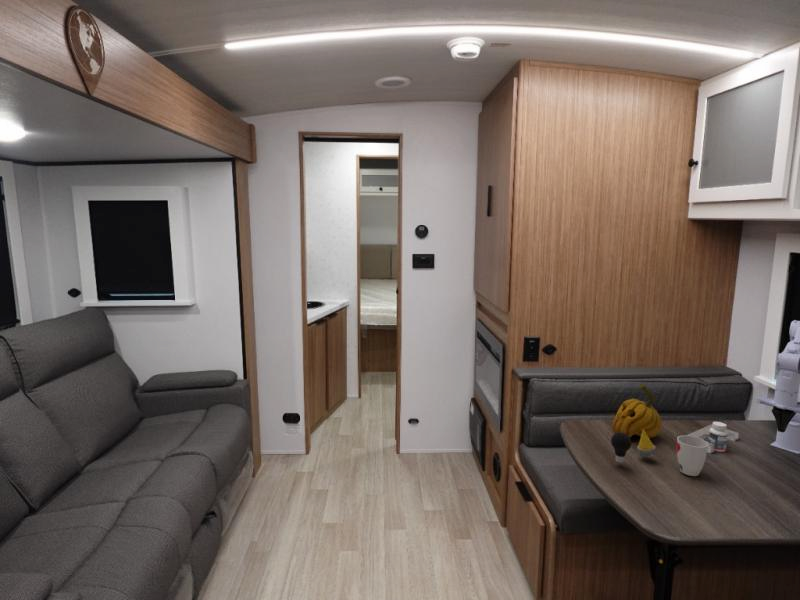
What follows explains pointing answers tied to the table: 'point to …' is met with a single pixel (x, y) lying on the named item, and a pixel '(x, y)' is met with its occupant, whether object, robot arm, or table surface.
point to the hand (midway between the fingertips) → (781, 431)
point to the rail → (704, 436)
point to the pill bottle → (718, 436)
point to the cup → (691, 454)
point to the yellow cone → (645, 445)
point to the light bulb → (620, 445)
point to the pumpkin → (637, 417)
